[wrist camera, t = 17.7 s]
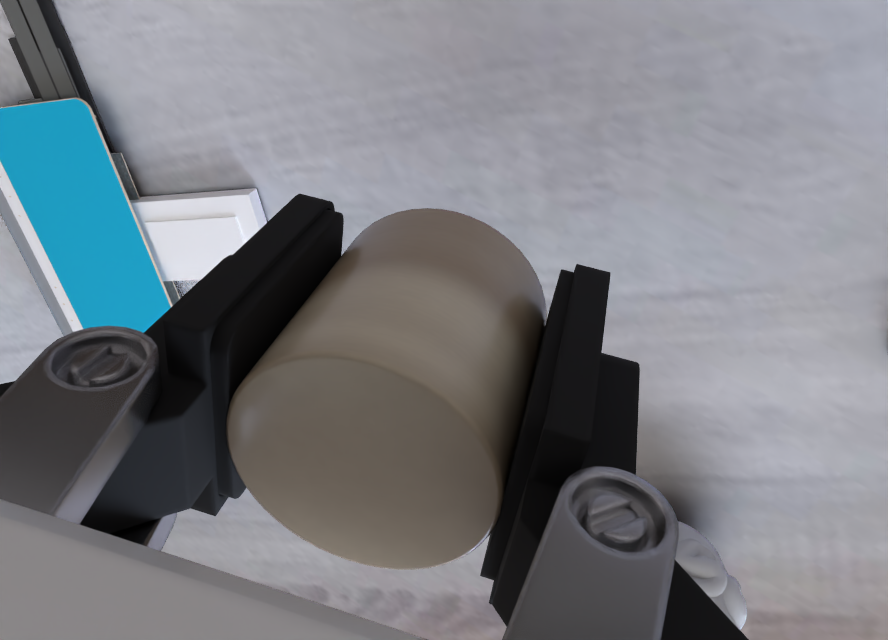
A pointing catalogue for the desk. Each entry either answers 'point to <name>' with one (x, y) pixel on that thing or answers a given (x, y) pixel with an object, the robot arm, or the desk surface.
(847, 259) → the desk surface
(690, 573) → the frog figurine
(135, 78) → the desk surface
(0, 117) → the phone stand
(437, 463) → the beige cylinder
